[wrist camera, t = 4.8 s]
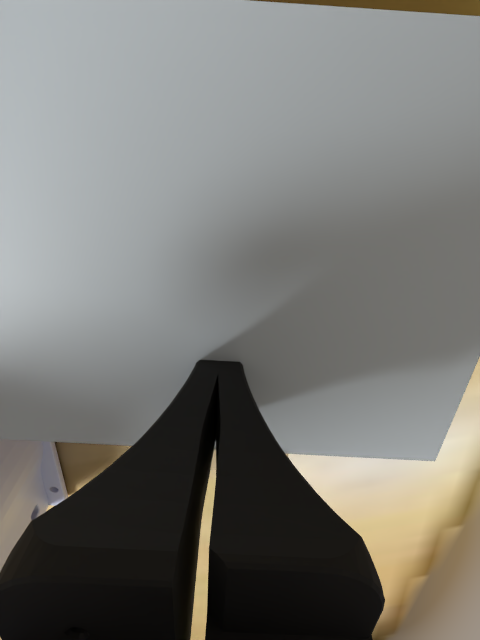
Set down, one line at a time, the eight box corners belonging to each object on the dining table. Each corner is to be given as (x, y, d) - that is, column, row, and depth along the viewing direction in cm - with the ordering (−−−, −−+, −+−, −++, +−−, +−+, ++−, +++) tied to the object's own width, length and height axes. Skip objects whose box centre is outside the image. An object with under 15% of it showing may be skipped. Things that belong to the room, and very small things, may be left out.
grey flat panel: (420, 466, 15) (426, 480, 14) (9, 446, 14) (0, 459, 14) (596, 30, 8) (620, 25, 8) (-141, -20, 8) (-169, -28, 7)
